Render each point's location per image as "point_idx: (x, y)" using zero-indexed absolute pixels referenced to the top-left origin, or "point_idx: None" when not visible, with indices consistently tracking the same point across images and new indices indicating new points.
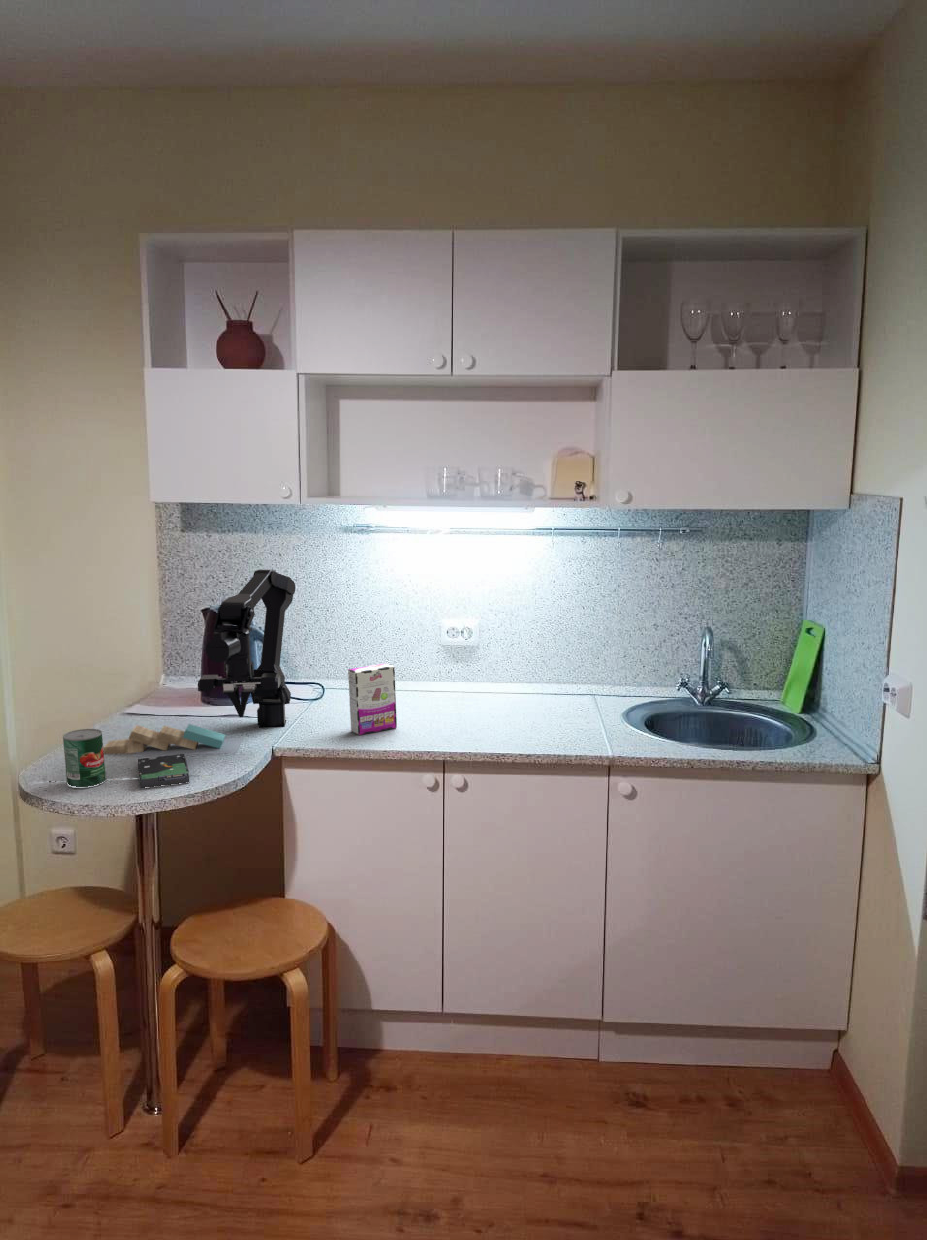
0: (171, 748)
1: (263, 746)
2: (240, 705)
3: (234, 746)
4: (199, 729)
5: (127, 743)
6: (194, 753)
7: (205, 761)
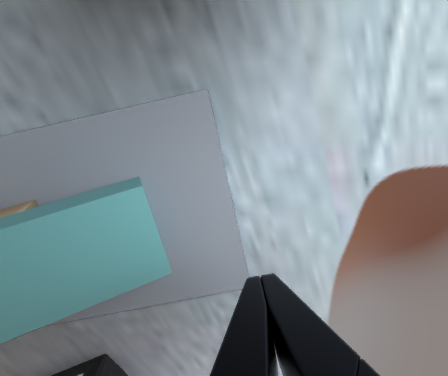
0: None
1: (326, 183)
2: (272, 367)
3: (213, 223)
4: (7, 267)
5: None
6: (96, 307)
7: (167, 341)
